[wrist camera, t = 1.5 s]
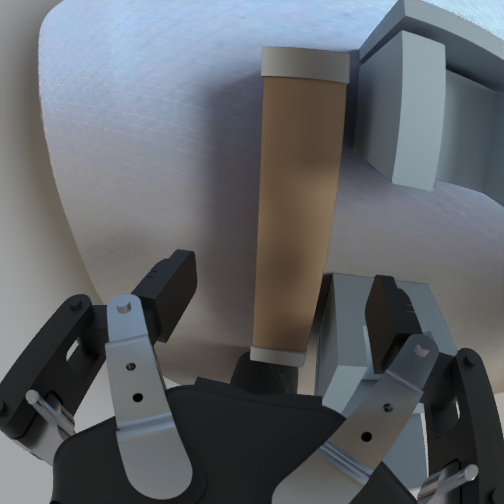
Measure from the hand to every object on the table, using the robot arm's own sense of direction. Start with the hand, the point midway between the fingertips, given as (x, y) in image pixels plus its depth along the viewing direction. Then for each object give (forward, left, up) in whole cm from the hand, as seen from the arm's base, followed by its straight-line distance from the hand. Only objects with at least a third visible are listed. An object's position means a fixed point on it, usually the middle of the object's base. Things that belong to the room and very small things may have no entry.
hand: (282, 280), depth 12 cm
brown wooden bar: (0, 0, -10) cm, 10 cm away
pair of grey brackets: (-8, 0, -10) cm, 13 cm away
